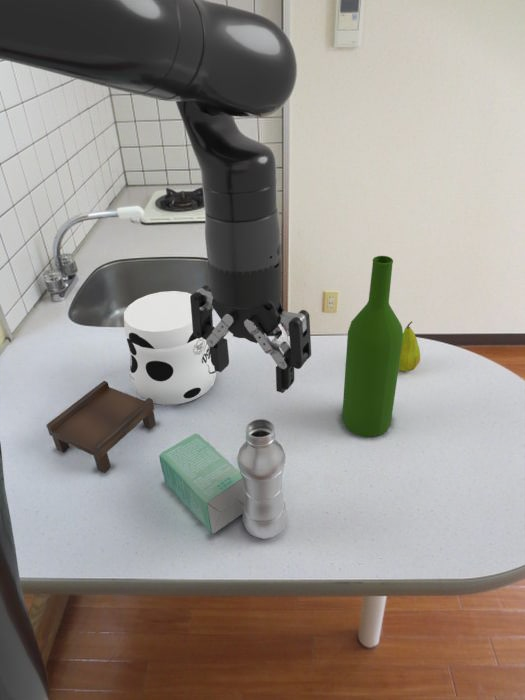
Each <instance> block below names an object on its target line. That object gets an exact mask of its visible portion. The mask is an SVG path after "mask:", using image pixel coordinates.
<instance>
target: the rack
mask: <svg viewBox="0 0 525 700" xmlns="http://www.w3.org/2000/svg"><path fill="white" fill-rule="evenodd" d="M154 410H155V404H153V399H151V398H147V399H146V400H144V399H142V398H139V397H136V396H133V395H131V394H129V393H126V392H123V391H121V390H118V389H116V388H114V387H111V386H109V382H108V381H106V380H103V381H101V382H100V383H98V384H97V385H96V386H95V387H93V388H92V389H90V390H89V391H88V392H87V393H86V394H84V395H83V396H82V397H80V398H79V399H78V400H76V401H75V402H73V403H72V404H71V405H70V406H69V407H67V408H66V409H65V410H63V411H62V412H61V413H60V414H58V415H57V416H56V417H54V418H53V419H52V420H50V421H49V422H48V423H46V424H45V427H46V428H47V432H48V435H49V436H50V437H51V438H52V440H53V443H54V446H55V448H56V451H58V452H60V453H62V454H64V453H65V452H66V451H68V450H69V449H70V446H72V447H74V448H77V449H78V450H80V451H83V452H85V453H87V454H89V455H90V456H93V459H94V462H95V466H96V468H97V471H99V472H101V473H102V474H106V473H107V472H108V471H109V470H110V469H111V468H112V464H111V461H110V458H109V455H108V452H109V451H110V450H111V449H113V448H114V446H116V445H117V444H119V442H121V440H123V438H125V437H126V436H127V435H128V434H129V433H130V432H131V431H132V430H134V429H135V427H137V426H138V425H139V424H140V423H142V424H143V428H145V429H148V430H150V431H152V429H153V428H154V427H156V425H157V422H156V418H155V413H154Z"/></svg>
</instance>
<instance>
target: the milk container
mask: <svg viewBox="0 0 525 700" xmlns="http://www.w3.org/2000/svg"><path fill="white" fill-rule="evenodd" d="M192 294H193V293H189V292H186V291H178V290H169V291H158V292H154V293H150V294H146V295H145V296H141V297H139V298H136V299H135V300H134V301H133V302H132V303H130V304H129V305H128V306H127V307H126V309H125V310H124V312H123V325H124V332H125V333H124V334H125V338H126V342H127V346H128V350H129V365H128V366H129V367H128V373H129V378H130V381H131V384H132V386H133V388H134V391H135V392H136V393H137V394H138V395H139V396H140V398H141V399H142V400H144V401H145V400H146V399H147V398H151V399H153V404H154V405H157V406H164V407H170V406H181V405H184V404H185V405H186V404H188V403H192V402H194V401H196V400H198V399H199V398H201V397H203V396H205V395H206V394H207V393H208V392H209V391H210V390H211V389H212V387H213V386H214V384H215V382H216V379H217V375H218V374H217V373H218V371H215V369H214V366H213V365H212V362H211V356H210V348H209V345H208V344H207V343H206V340H205V339H203V338H202V337H201V338H200V339H198V338H196V337H195V336H194V334H193V327H192V314H191V302H190V296H191V295H192Z"/></svg>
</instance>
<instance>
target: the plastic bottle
mask: <svg viewBox="0 0 525 700" xmlns="http://www.w3.org/2000/svg"><path fill="white" fill-rule="evenodd" d="M275 430H276V429H275V425H274V423H273V422H272V421H271V420H269V419H265V418H258V419H254V420H252V421H250V422H249V423H248V424H247V426H246V428H245V441H244V442H243V444H242V445H241V446H240V448H239V450H238V454H237V456H236V462H237V467H238V471H239V472H240V473H241V477H242V480H243V486H244V491H245V501H244V507H243V514H242V522H243V525H244V528H245V529H246V531H247V532H248V534H250V535H251V536H253V537H255V538H258V539H262V540H266V539H272V538H274V537H276V536H277V535H279V534H281V532H283V530H284V528H285V527H286V525H287V519H288V509H287V505H286V501H285V499H284V492H283V479H284V477H283V476H284V471H285V464H286V452H285V450H284V448H283V446H282V444H281V443H280V442H279V441H278V440H277V438H276V431H275Z"/></svg>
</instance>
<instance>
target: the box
mask: <svg viewBox="0 0 525 700" xmlns="http://www.w3.org/2000/svg"><path fill="white" fill-rule="evenodd" d="M158 457H159V462H160V467H161V471H162V476H163V479H164V482H165V485H166V487H168V489H169V490H170V491H171V492H172V493H173V494H174V496H176V498H178V499H179V500H180V502H181V503H183V505H184V506H185V507H187V509H188V510H189V511H190V512H191V513H192V514H193V515H194V516H195V518H196V519H197V520H198V521H199V522H200V523H201V524H202V525H203V526H204V527H205V528H206V529H207V530H208V531H209V533H211V534H216V533H218V532H220V531H221V529H223V528H225V527H226V526H228V525H229V524H230V523H232V522H233V521H235V520H236V519H238V518H239V517H241V516H243V507H244V501H245V491H244V486H243V480H242V477H241V473H240V470H239V469H238V468H237V467H235V466H234V465H233V464H232V463H231V462H230V461H229V460H228V459H227V458H226V457H224V456H223V455H222V454H221V453H220V452H219V451H218V450H217V449H216V448H215V447H213V446H212V445H211V444H210V442H208V441H207V440H206V439H204V438H203V437H202V436H201V435H200V434H198V433H194V434H191V435H190V436H188V437H186V438H184V439H183V440H181V441H179V442H177V443H175V444H174V445H172V446H170V447H168V448H167V449H165V450H163V451H162V452H161V453H160V454H159V456H158Z"/></svg>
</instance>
